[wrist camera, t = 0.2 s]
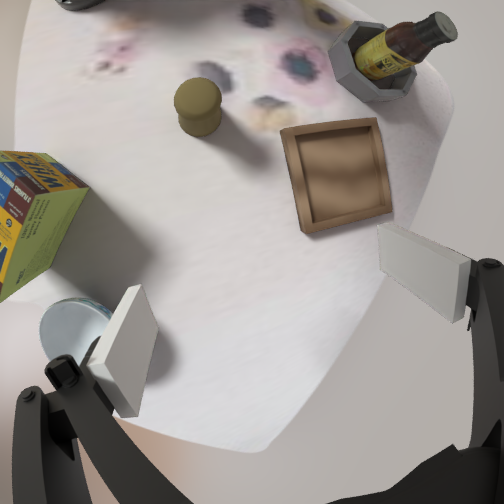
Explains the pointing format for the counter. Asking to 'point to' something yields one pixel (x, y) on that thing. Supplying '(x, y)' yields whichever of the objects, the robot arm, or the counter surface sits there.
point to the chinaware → (72, 327)
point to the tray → (337, 172)
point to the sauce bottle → (403, 46)
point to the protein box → (33, 215)
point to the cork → (198, 106)
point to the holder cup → (354, 78)
